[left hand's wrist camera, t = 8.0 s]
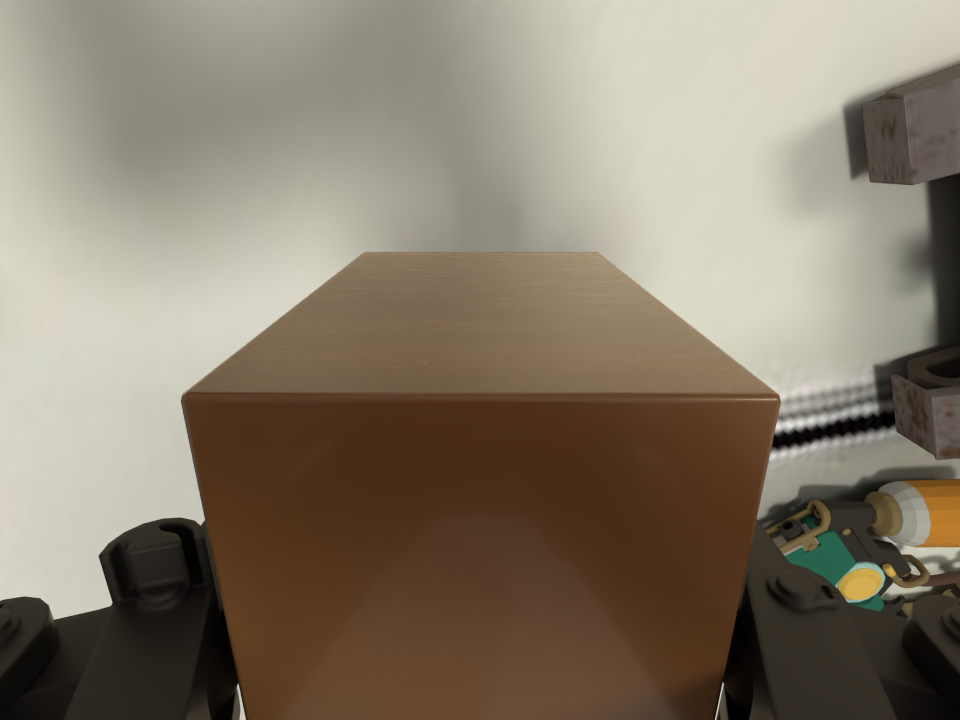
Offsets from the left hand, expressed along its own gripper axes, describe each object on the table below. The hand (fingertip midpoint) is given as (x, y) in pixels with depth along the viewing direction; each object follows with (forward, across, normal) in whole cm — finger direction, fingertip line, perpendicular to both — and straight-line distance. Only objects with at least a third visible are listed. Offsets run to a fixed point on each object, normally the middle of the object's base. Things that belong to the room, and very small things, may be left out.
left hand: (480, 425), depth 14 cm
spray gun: (+19, +28, -21) cm, 40 cm away
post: (0, 0, -28) cm, 28 cm away
